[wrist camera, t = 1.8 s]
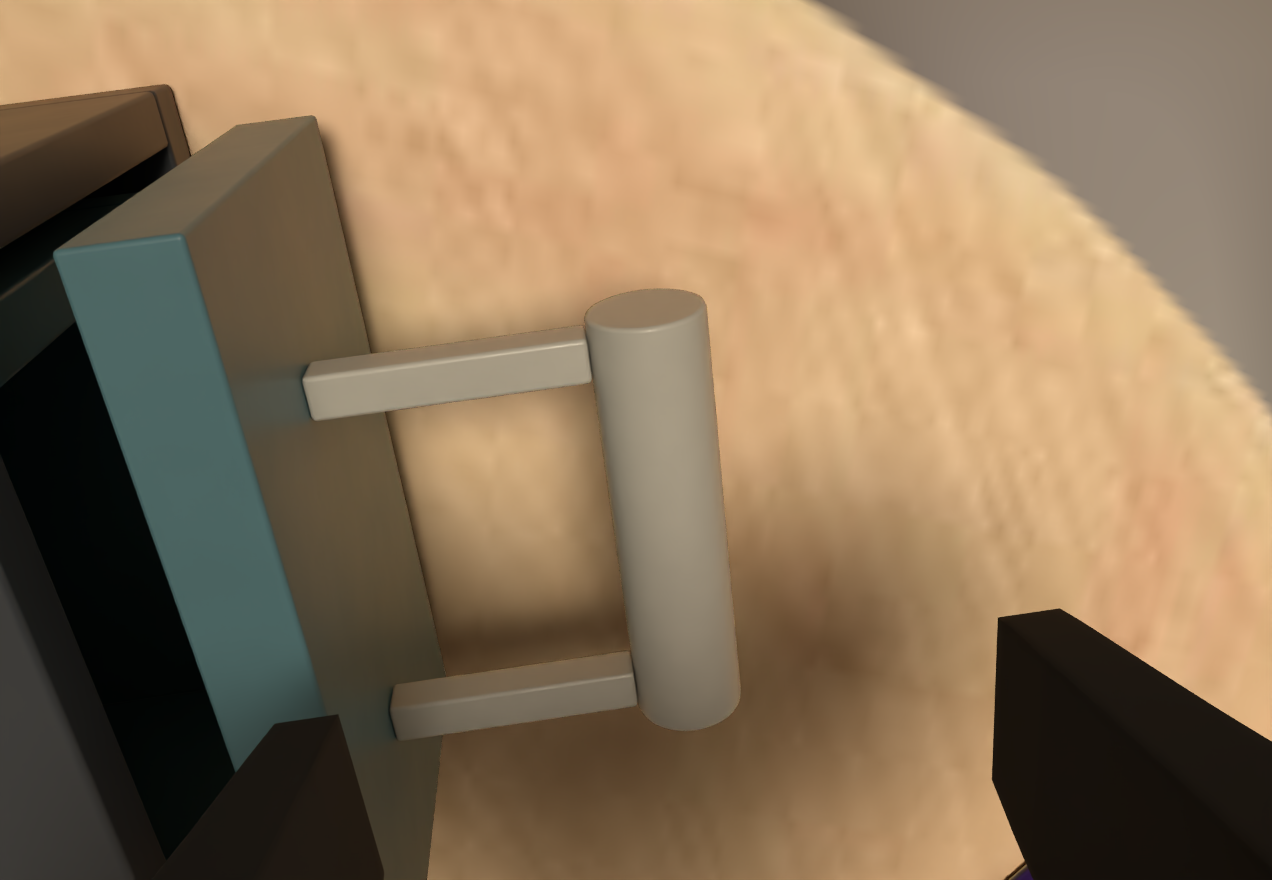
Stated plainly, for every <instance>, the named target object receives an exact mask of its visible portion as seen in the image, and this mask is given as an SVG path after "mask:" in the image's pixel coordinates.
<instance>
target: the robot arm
mask: <svg viewBox="0 0 1272 880" xmlns="http://www.w3.org/2000/svg"><path fill="white" fill-rule="evenodd" d="M992 781H993V783H994V786H995V788H996V791H997V793H998V796H999V798H1000V801H1001V804H1002V806H1003V809H1004V811H1005V814H1006V816H1007V819H1008V821H1009V824H1010V826H1011V829H1012V831H1013V834H1014V836H1015V838H1016V841H1017V843H1018V846H1019V848H1020V850H1021V853H1022V855H1023V857H1024V860H1025V862H1026V864H1027V867H1028V869H1029V871H1030V874H1031V876H1032V878H1033V880H1272V741H1270V740H1268V739H1266V738H1265V737H1263V736H1261V735H1260V734H1258V733H1257V732H1255V731H1253V730H1252V729H1250V728H1248V727H1247V726H1245V725H1243V724H1242V723H1240V722H1238V721H1237V720H1235V719H1234V718H1232V717H1230V716H1229V715H1227V714H1225V713H1224V712H1222V711H1221V710H1219V709H1217V708H1216V707H1214V706H1213V705H1211V704H1209V703H1208V702H1206V701H1205V700H1203V699H1201V698H1200V697H1198V696H1197V695H1195V694H1194V693H1192V692H1190V691H1189V690H1187V689H1186V688H1184V687H1182V686H1181V685H1179V684H1178V683H1176V682H1175V681H1173V680H1172V679H1170V678H1168V677H1167V676H1165V675H1164V674H1162V673H1161V672H1159V671H1158V670H1156V669H1155V668H1153V667H1151V666H1150V665H1148V664H1147V663H1145V662H1144V661H1142V660H1141V659H1139V658H1138V657H1136V656H1134V655H1133V654H1131V653H1130V652H1128V651H1127V650H1125V649H1124V648H1122V647H1121V646H1119V645H1117V644H1116V643H1114V642H1113V641H1111V640H1110V639H1108V638H1107V637H1105V636H1104V635H1102V634H1100V633H1099V632H1097V631H1096V630H1094V629H1093V628H1091V627H1089V626H1088V625H1086V624H1085V623H1083V622H1081V621H1080V620H1078V619H1077V618H1075V617H1073V616H1072V615H1070V614H1068V613H1067V612H1065V611H1063V610H1062V609H1053V610H1046V611H1040V612H1033V613H1026V614H1019V615H1012V616H1005V617H999V618H998V630H997V658H996V685H995V712H994V739H993V766H992ZM151 880H384V869H383V865H382V862H381V859H380V855H379V852H378V848H377V845H376V841H375V838H374V835H373V831H372V828H371V824H370V821H369V817H368V814H367V811H366V807H365V804H364V800H363V797H362V793H361V790H360V786H359V783H358V780H357V776H356V773H355V769H354V766H353V762H352V759H351V756H350V752H349V749H348V745H347V742H346V738H345V735H344V732H343V728H342V725H341V721H340V718H339V714H336V715H330V716H323V717H316V718H309V719H302V720H295V721H289V722H282V723H275V724H274V725H273V726H272V727H271V729H270V730H269V731H268V732H267V734H266V735H265V736H264V737H263V739H262V740H261V741H260V742H259V744H258V745H257V746H256V747H255V749H254V750H253V751H252V752H251V754H250V755H249V756H248V757H247V759H246V760H245V761H244V763H243V764H242V765H241V766H240V768H239V769H238V770H237V772H236V773H235V774H234V775H233V777H232V778H231V779H230V781H229V782H228V783H227V784H226V786H225V787H224V788H223V790H222V791H221V792H220V794H219V795H218V796H217V797H216V799H215V800H214V801H213V803H212V804H211V805H210V806H209V808H208V809H207V810H206V812H205V813H204V814H203V815H202V817H201V818H200V819H199V821H198V822H197V823H196V824H195V826H194V827H193V828H192V830H191V831H190V832H189V833H188V835H187V836H186V837H185V839H184V840H183V841H182V842H181V844H180V845H179V846H178V847H177V848H176V850H175V851H174V852H173V853H172V855H171V856H170V857H169V858H168V860H167V861H166V862H165V863H164V865H163V866H162V867H161V868H160V869H159V871H158V872H157V873H156V874H155V876H154V877H153V878H152V879H151Z"/></svg>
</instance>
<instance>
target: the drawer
mask: <svg viewBox="0 0 1272 880" xmlns="http://www.w3.org/2000/svg"><path fill="white" fill-rule="evenodd" d="M584 322H585V328H584V326H580V325H579V326H571V327H564V328H557V329H549V330H542V331H535V332H528V333H520V334H513V335H506V336H498V337H491V338H484V339H476V340H469V341H462V342H454V343H447V344H440V345H432V346H425V347H418V348H410V349H403V350H396V351H388V352H381V353H374V354H371V351H370V347H369V343H368V338H367V334H366V330H365V325H364V321H363V317H362V312H361V308H360V304H359V300H358V295H357V291H356V287H355V282H354V278H353V274H352V270H351V265H350V261H349V257H348V252H347V248H346V244H345V240H344V235H343V231H342V227H341V222H340V218H339V214H338V209H337V205H336V201H335V197H334V192H333V188H332V184H331V179H330V175H329V171H328V167H327V162H326V158H325V154H324V149H323V145H322V141H321V137H320V132H319V128H318V124H317V119H316V118H315V116H304V117H296V118H288V119H281V120H273V121H265V122H258V123H250V124H242V125H236V126H235V127H233V128H232V129H230V130H229V131H227V132H226V133H225V134H223V135H222V136H220V137H219V138H217V139H216V140H214V141H213V142H211V143H210V144H209V145H207V146H206V147H204V148H203V149H201V150H200V151H198V152H197V153H195V154H194V155H193V156H191V157H190V158H188V159H187V160H185V161H184V162H182V163H181V164H179V165H178V166H177V167H175V168H174V169H172V170H171V171H169V172H168V173H166V174H165V175H163V176H162V177H161V178H159V179H158V180H156V181H155V182H153V183H152V184H150V185H149V186H147V187H146V188H145V189H143V190H142V191H140V192H135V193H128V194H120V195H112V196H105V197H97V198H89V199H82V200H79V201H78V202H76V203H74V204H73V205H71V206H70V207H68V208H66V209H65V210H63V211H61V212H60V213H58V214H57V215H55V216H53V217H52V218H50V219H48V220H47V221H45V222H44V223H42V224H40V225H39V226H37V227H35V228H34V229H32V230H30V231H29V232H27V233H26V234H24V235H22V236H21V237H19V238H17V239H16V240H14V241H13V242H11V243H9V244H8V245H6V246H4V247H3V248H1V249H0V455H1V457H2V459H3V462H4V464H5V467H6V469H7V472H8V474H9V477H10V479H11V482H12V484H13V486H14V489H15V491H16V494H17V496H18V499H19V501H20V504H21V506H22V509H23V511H24V513H25V516H26V518H27V521H28V523H29V526H30V528H31V531H32V533H33V536H34V538H35V540H36V543H37V545H38V548H39V550H40V553H41V555H42V558H43V560H44V563H45V565H46V567H47V570H48V572H49V575H50V577H51V580H52V582H53V585H54V587H55V589H56V592H57V594H58V597H59V599H60V602H61V604H62V607H63V609H64V612H65V614H66V616H67V619H68V621H69V624H70V626H71V629H72V631H73V634H74V636H75V639H76V641H77V643H78V646H79V648H80V651H81V653H82V656H83V658H84V661H85V663H86V666H87V668H88V670H89V673H90V675H91V678H92V680H93V683H94V685H95V688H96V690H97V693H98V695H99V697H100V700H101V702H102V705H103V707H104V710H105V712H106V715H107V717H108V720H109V722H110V724H111V727H112V729H113V732H114V734H115V737H116V739H117V742H118V744H119V747H120V749H121V751H122V754H123V756H124V759H125V761H126V764H127V766H128V769H129V771H130V773H131V776H132V778H133V781H134V783H135V786H136V788H137V791H138V793H139V796H140V798H141V800H142V803H143V805H144V808H145V810H146V813H147V815H148V818H149V820H150V823H151V825H152V827H153V830H154V832H155V835H156V837H157V840H158V842H159V845H160V847H161V850H162V852H163V854H164V857H165V859H166V861H167V860H168V858H169V857H170V856H171V855H172V853H173V852H174V851H175V850H176V848H177V847H178V846H179V845H180V844H181V842H182V841H183V840H184V839H185V837H186V836H187V835H188V833H189V832H190V831H191V830H192V828H193V827H194V826H195V824H196V823H197V822H198V821H199V819H200V818H201V817H202V815H203V814H204V813H205V812H206V810H207V809H208V808H209V806H210V805H211V804H212V803H213V801H214V800H215V799H216V797H217V796H218V795H219V794H220V792H221V791H222V790H223V788H224V787H225V786H226V784H227V783H228V782H229V781H230V779H231V778H232V777H233V775H234V774H235V773H236V772H237V770H238V769H239V768H240V766H241V765H242V764H243V763H244V761H245V760H246V759H247V757H248V756H249V755H250V754H251V752H252V751H253V750H254V749H255V747H256V746H257V745H258V744H259V742H260V741H261V740H262V739H263V737H264V736H265V735H266V734H267V732H268V731H269V730H270V729H271V727H272V726H273V725H274V724H275V723H282V722H289V721H295V720H302V719H309V718H316V717H323V716H330V715H336V714H339V718H340V721H341V725H342V728H343V732H344V735H345V738H346V742H347V745H348V749H349V752H350V756H351V759H352V762H353V766H354V769H355V773H356V776H357V780H358V783H359V786H360V790H361V793H362V797H363V800H364V804H365V807H366V811H367V814H368V817H369V821H370V824H371V828H372V831H373V835H374V838H375V841H376V845H377V848H378V852H379V855H380V859H381V862H382V865H383V869H384V880H427V876H428V867H429V857H430V848H431V839H432V829H433V820H434V811H435V802H436V792H437V783H438V774H439V765H440V755H441V746H442V737H443V735H445V734H452V733H459V732H466V731H472V730H479V729H486V728H493V727H500V726H506V725H513V724H520V723H527V722H533V721H540V720H547V719H554V718H561V717H567V716H574V715H581V714H588V713H594V712H601V711H608V710H615V709H622V708H628V707H634V706H636V705H637V702H638V704H639V707H640V709H641V711H642V712H643V714H644V715H645V716H646V717H647V718H648V719H649V720H650V721H651V722H653V723H654V724H656V725H658V726H660V727H663V728H666V729H670V730H676V731H693V730H700V729H704V728H708V727H711V726H713V725H716V724H718V723H720V722H721V721H723V720H724V719H726V718H727V717H728V716H730V715H731V714H732V712H733V711H734V710H735V708H736V707H737V705H738V703H739V700H740V696H741V687H740V676H739V665H738V653H737V642H736V631H735V620H734V609H733V597H732V586H731V575H730V564H729V552H728V541H727V530H726V519H725V507H724V496H723V485H722V474H721V463H720V451H719V440H718V429H717V418H716V406H715V395H714V384H713V373H712V362H711V350H710V339H709V328H708V317H707V306H706V303H705V301H704V300H703V298H702V297H700V296H699V295H697V294H695V293H692V292H688V291H684V290H676V289H645V290H638V291H631V292H626V293H622V294H619V295H615V296H612V297H609V298H607V299H604V300H602V301H600V302H598V303H596V304H594V305H593V306H591V307H590V308H589V309H588V310H587V312H586V314H585V318H584ZM585 329H586V330H585ZM592 379H593V386H594V393H595V400H596V407H597V414H598V421H599V428H600V436H601V443H602V450H603V457H604V464H605V471H606V478H607V485H608V492H609V500H610V507H611V514H612V521H613V528H614V535H615V542H616V549H617V556H618V564H619V571H620V578H621V585H622V592H623V599H624V606H625V613H626V620H627V627H628V635H629V642H630V649H631V653H630V652H629V651H622V652H615V653H608V654H602V655H595V656H588V657H581V658H574V659H567V660H560V661H554V662H547V663H540V664H533V665H526V666H519V667H512V668H506V669H499V670H492V671H485V672H478V673H471V674H464V675H458V676H451V677H446V673H445V669H444V664H443V660H442V656H441V651H440V647H439V643H438V639H437V634H436V630H435V626H434V621H433V617H432V613H431V609H430V604H429V600H428V596H427V591H426V587H425V583H424V579H423V574H422V570H421V566H420V561H419V557H418V553H417V548H416V544H415V540H414V536H413V531H412V527H411V523H410V518H409V514H408V510H407V506H406V501H405V497H404V493H403V488H402V484H401V480H400V476H399V471H398V467H397V463H396V458H395V454H394V450H393V445H392V441H391V437H390V433H389V428H388V424H387V420H386V415H385V412H386V411H394V410H401V409H408V408H415V407H423V406H430V405H437V404H444V403H452V402H459V401H466V400H473V399H480V398H488V397H495V396H502V395H509V394H517V393H524V392H531V391H538V390H546V389H553V388H560V387H567V386H574V385H582V384H588V383H590V382H591V381H592Z"/></svg>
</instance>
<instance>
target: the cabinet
mask: <svg viewBox="0 0 1272 880" xmlns="http://www.w3.org/2000/svg"><path fill="white" fill-rule="evenodd" d="M188 158H190V154H189V151H188V147H187V144H186V140H185V137H184V133H183V130H182V126H181V123H180V119H179V116H178V112H177V109H176V105H175V102H174V98H173V95H172V91H171V88H170V87H169V86H168V85H165V84H163V85H155V86H147V87H139V88H132V89H124V90H116V91H108V92H100V93H93V94H85V95H77V96H69V97H61V98H54V99H46V100H38V101H30V102H23V103H15V104H7V105H0V249H1V248H3V247H4V246H6V245H8V244H9V243H11V242H13V241H14V240H16V239H17V238H19V237H21V236H22V235H24V234H26V233H27V232H29V231H30V230H32V229H34V228H35V227H37V226H39V225H40V224H42V223H44V222H45V221H47V220H48V219H50V218H52V217H53V216H55V215H57V214H58V213H60V212H61V211H63V210H65V209H66V208H68V207H70V206H71V205H73V204H74V203H76V202H78V201H79V200H82V199H89V198H97V197H105V196H112V195H120V194H128V193H135V192H140V191H142V190H143V189H145V188H146V187H147V186H149V185H150V184H152V183H153V182H155V181H156V180H158V179H159V178H161V177H162V176H163V175H165V174H166V173H168V172H169V171H171V170H172V169H174V168H175V167H177V166H178V165H179V164H181V163H182V162H184V161H185V160H187V159H188ZM165 862H166V859H165V857H164V854H163V852H162V850H161V847H160V845H159V842H158V840H157V837H156V835H155V832H154V830H153V827H152V825H151V823H150V820H149V818H148V815H147V813H146V810H145V808H144V805H143V803H142V800H141V798H140V796H139V793H138V791H137V788H136V786H135V783H134V781H133V778H132V776H131V773H130V771H129V769H128V766H127V764H126V761H125V759H124V756H123V754H122V751H121V749H120V747H119V744H118V742H117V739H116V737H115V734H114V732H113V729H112V727H111V724H110V722H109V720H108V717H107V715H106V712H105V710H104V707H103V705H102V702H101V700H100V697H99V695H98V693H97V690H96V688H95V685H94V683H93V680H92V678H91V675H90V673H89V670H88V668H87V666H86V663H85V661H84V658H83V656H82V653H81V651H80V648H79V646H78V643H77V641H76V639H75V636H74V634H73V631H72V629H71V626H70V624H69V621H68V619H67V616H66V614H65V612H64V609H63V607H62V604H61V602H60V599H59V597H58V594H57V592H56V589H55V587H54V585H53V582H52V580H51V577H50V575H49V572H48V570H47V567H46V565H45V563H44V560H43V558H42V555H41V553H40V550H39V548H38V545H37V543H36V540H35V538H34V536H33V533H32V531H31V528H30V526H29V523H28V521H27V518H26V516H25V513H24V511H23V509H22V506H21V504H20V501H19V499H18V496H17V494H16V491H15V489H14V486H13V484H12V482H11V479H10V477H9V474H8V472H7V469H6V467H5V464H4V462H3V459H2V457H1V455H0V880H151V879H152V878H153V877H154V876H155V874H156V873H157V872H158V871H159V869H160V868H161V867H162V866H163V865H164V863H165Z"/></svg>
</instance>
